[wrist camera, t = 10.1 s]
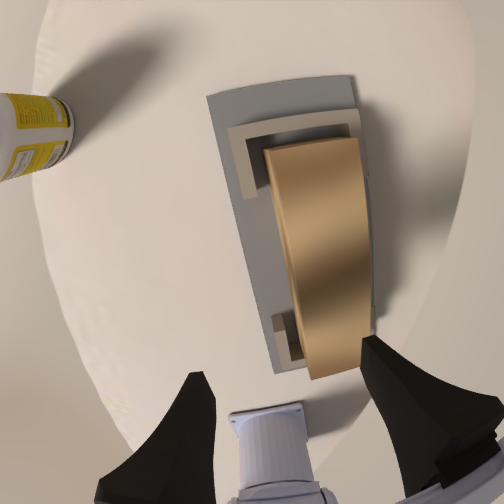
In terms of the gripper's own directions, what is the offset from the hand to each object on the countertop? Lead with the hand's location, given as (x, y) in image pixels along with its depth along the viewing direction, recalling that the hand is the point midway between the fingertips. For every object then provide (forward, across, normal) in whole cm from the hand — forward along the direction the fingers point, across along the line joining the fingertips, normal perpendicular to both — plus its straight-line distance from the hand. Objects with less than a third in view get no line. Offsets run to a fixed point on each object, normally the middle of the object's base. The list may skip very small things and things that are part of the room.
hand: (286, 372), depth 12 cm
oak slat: (+8, -3, -2) cm, 9 cm away
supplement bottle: (+10, +13, -15) cm, 22 cm away
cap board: (+9, -3, -2) cm, 10 cm away
